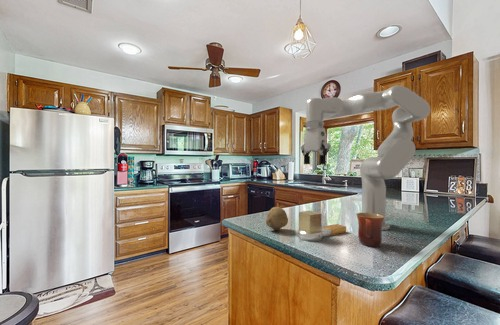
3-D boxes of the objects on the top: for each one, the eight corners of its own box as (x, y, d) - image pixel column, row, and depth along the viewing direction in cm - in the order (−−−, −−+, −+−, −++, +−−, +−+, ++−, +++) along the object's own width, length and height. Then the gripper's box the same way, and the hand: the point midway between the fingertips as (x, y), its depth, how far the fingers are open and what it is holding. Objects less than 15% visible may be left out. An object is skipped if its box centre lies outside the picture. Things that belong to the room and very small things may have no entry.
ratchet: (333, 228, 98) (333, 213, 98) (350, 233, 90) (350, 217, 90) (293, 235, 87) (293, 219, 87) (309, 242, 79) (309, 224, 79)
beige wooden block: (310, 227, 90) (310, 210, 90) (321, 231, 84) (321, 213, 84) (298, 229, 87) (298, 211, 87) (309, 234, 81) (309, 215, 82)
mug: (357, 238, 85) (357, 211, 85) (384, 242, 80) (384, 214, 80) (353, 248, 75) (353, 217, 75) (383, 254, 70) (383, 221, 70)
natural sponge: (292, 230, 94) (292, 207, 94) (278, 235, 88) (278, 210, 88) (276, 226, 100) (276, 204, 100) (262, 229, 95) (262, 206, 95)
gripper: (335, 124, 94) (335, 164, 94) (307, 129, 110) (307, 164, 110) (323, 122, 91) (323, 164, 91) (295, 128, 106) (295, 164, 106)
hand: (314, 164), depth 100 cm, fingers open, 9 cm apart
